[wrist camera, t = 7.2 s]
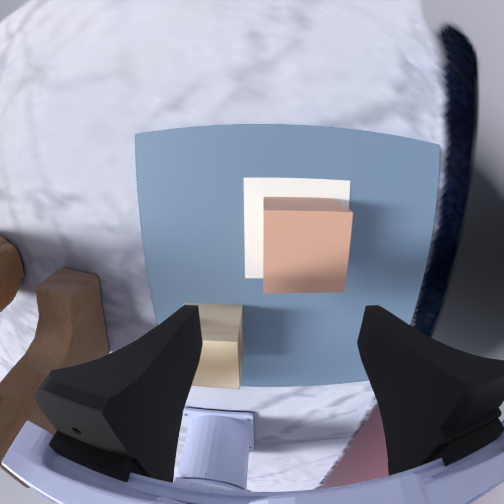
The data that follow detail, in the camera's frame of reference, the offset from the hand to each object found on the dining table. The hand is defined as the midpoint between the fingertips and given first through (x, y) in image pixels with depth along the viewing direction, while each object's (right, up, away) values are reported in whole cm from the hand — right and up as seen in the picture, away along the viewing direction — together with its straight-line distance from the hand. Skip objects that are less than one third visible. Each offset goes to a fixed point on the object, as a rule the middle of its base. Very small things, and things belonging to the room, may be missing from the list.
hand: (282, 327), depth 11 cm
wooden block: (-17, -2, +11) cm, 21 cm away
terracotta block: (+2, +5, +7) cm, 8 cm away
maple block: (-4, -3, +10) cm, 11 cm away
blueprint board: (+2, +1, +9) cm, 9 cm away
